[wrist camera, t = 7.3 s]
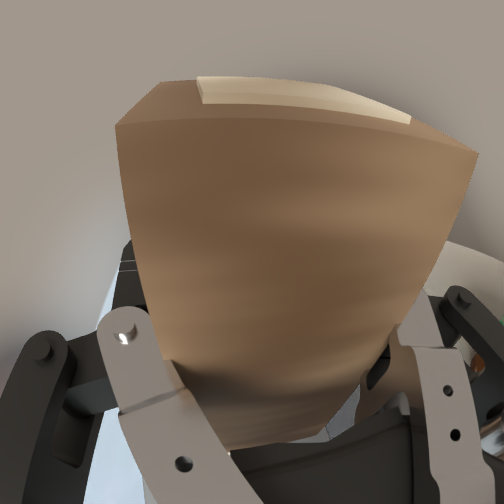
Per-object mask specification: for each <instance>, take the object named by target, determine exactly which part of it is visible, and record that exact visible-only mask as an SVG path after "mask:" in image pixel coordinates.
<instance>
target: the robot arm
mask: <svg viewBox="0 0 504 504" xmlns="http://www.w3.org/2000/svg"><path fill="white" fill-rule="evenodd" d="M461 336H463V338H464V339H465V340H466V341H467V342H468V343H469V344H470V345H471V346H472V348H473V349H474V350H475V351H476V352H477V353H478V354H479V356H480V357H481V358H482V359H483V360H484V363H485V367H484V368H483V369H482V370H481V371H479V372H475V371H473V370H472V369H471V368H470V367H469V366H468V365H467V363H466V362H465V361H464V360H463V357H462V354H461V352H460V351H459V350H458V349H457V348H455V347H453V346H454V345H455V344H456V343H457V341H458V340H459V339H460V338H461ZM388 340H389V344H388V345H387V347H386V348H385V350H384V351H383V352H382V354H381V355H380V357H379V358H378V360H377V361H376V362H375V364H374V365H373V367H372V368H370V369H367V370H365V371H364V373H363V374H362V375H361V377H360V400H359V403H358V406H357V409H356V413H355V425H354V426H353V427H351V428H349V429H348V430H346V431H345V432H343V433H341V434H340V435H338V436H337V437H335V438H333V439H332V440H330V441H327V442H318V443H280V442H277V443H272V444H267V445H261V446H255V447H249V448H243V449H235V450H230V456H229V454H228V453H227V451H226V450H225V448H224V446H223V445H222V443H221V442H220V440H219V439H218V437H217V435H216V434H215V432H214V431H213V429H212V427H211V426H210V424H209V422H208V421H207V419H206V417H205V416H204V414H203V412H202V410H201V409H200V407H199V405H198V404H197V402H196V400H195V398H194V397H193V395H192V394H191V392H190V391H189V389H188V388H186V387H185V386H184V384H183V383H182V381H181V379H180V377H179V375H178V373H177V371H176V369H175V367H174V365H173V363H172V361H171V359H170V360H163V358H162V355H161V352H160V349H159V346H158V342H157V339H156V336H155V332H154V329H153V326H152V322H151V319H150V315H149V311H148V308H147V304H146V300H145V297H144V293H143V289H142V285H141V281H140V276H139V272H138V268H137V264H136V259H135V255H134V250H133V245H132V240H130V241H129V242H128V244H127V245H126V246H125V247H124V249H123V253H122V258H121V263H120V267H119V272H118V277H117V282H116V287H115V292H114V298H113V304H112V309H111V311H110V312H109V313H107V314H106V315H105V316H104V317H103V318H102V319H101V321H100V322H99V325H98V328H97V330H96V331H94V332H92V333H90V334H88V335H85V336H82V337H79V338H76V339H73V340H70V341H66V340H65V339H64V337H63V336H62V335H61V334H59V333H58V332H55V331H50V330H48V331H42V332H39V333H37V334H35V335H34V336H32V337H31V338H30V339H29V340H28V341H27V342H26V344H25V345H24V347H23V349H22V351H21V353H20V355H19V357H18V359H17V361H16V363H15V365H14V368H13V370H12V372H11V374H10V377H9V379H8V381H7V383H6V386H5V388H4V390H3V393H2V395H1V398H0V504H83V501H84V496H85V491H86V486H87V481H88V476H89V471H90V467H91V462H92V458H93V454H94V450H95V446H96V442H97V438H98V434H99V430H100V426H101V423H102V419H103V415H104V412H105V411H107V410H110V409H113V408H116V407H119V411H120V412H119V413H118V418H119V422H120V426H121V428H122V431H123V434H124V436H125V438H126V441H127V443H128V446H129V448H130V450H131V452H132V455H133V457H134V459H135V461H136V463H137V466H138V468H139V470H140V472H141V474H142V476H143V478H144V480H145V482H146V484H147V486H148V488H149V490H150V491H151V493H152V495H153V497H154V499H155V501H156V502H157V504H504V326H503V325H502V324H501V323H500V322H499V320H498V319H497V318H496V317H495V316H494V315H493V314H492V313H491V312H490V311H489V310H488V309H487V308H486V307H485V306H484V305H483V304H482V303H481V302H480V301H479V300H478V299H477V298H476V297H475V296H474V295H473V294H472V293H471V292H470V291H468V290H467V289H465V288H463V287H461V286H451V287H449V288H448V290H447V292H446V293H445V295H444V297H436V296H428V295H427V293H426V292H425V290H424V289H423V288H422V289H421V291H420V293H419V295H418V296H417V298H416V300H415V302H414V303H413V305H412V307H411V309H410V310H409V312H408V314H407V315H406V317H405V319H404V320H403V322H402V323H398V324H395V326H394V328H393V329H392V331H391V332H390V334H389V336H388Z"/></svg>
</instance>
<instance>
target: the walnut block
mask: <svg viewBox="0 0 504 504" xmlns="http://www.w3.org/2000/svg"><path fill="white" fill-rule="evenodd" d="M115 130H116V140H117V151H118V159H119V167H120V175H121V182H122V189H123V196H124V201H125V208H126V213H127V219H128V224H129V229H130V235H131V240H132V245H133V250H134V255H135V259H136V264H137V268H138V272H139V276H140V281H141V285H142V289H143V293H144V297H145V300H146V304H147V308H148V311H149V315H150V319H151V322H152V326H153V329H154V332H155V336H156V339H157V342H158V346H159V349H160V352H161V355H162V358H163V360H170V359H171V361H172V363H173V365H174V367H175V369H176V371H177V373H178V375H179V377H180V379H181V381H182V383H183V384H184V386H185V387H186V388H188V389H189V391H190V392H191V394H192V395H193V397H194V398H195V400H196V402H197V404H198V405H199V407H200V409H201V410H202V412H203V414H204V416H205V417H206V419H207V421H208V422H209V424H210V426H211V427H212V429H213V431H214V432H215V434H216V435H217V437H218V439H219V440H220V442H221V443H222V445H223V446H224V448H225V450H226V451H227V452H230V450H235V449H243V448H249V447H255V446H261V445H267V444H272V443H277V442H280V443H287V442H291V441H296V440H300V439H304V438H308V437H312V436H316V435H317V434H318V433H319V432H320V431H321V430H322V429H323V428H324V427H325V425H326V424H327V423H328V422H329V421H330V420H331V419H332V417H333V416H334V415H335V414H336V413H337V412H338V410H339V409H340V408H341V407H342V406H343V404H344V403H345V402H346V401H347V399H348V398H349V397H350V396H351V394H352V393H353V392H354V391H355V389H356V388H357V387H358V385H359V384H360V377H361V375H362V374H363V373H364V371H365V370H367V369H370V368H372V367H373V365H374V364H375V362H376V361H377V360H378V358H379V357H380V355H381V354H382V352H383V351H384V350H385V348H386V347H387V345H388V344H389V340H388V336H389V334H390V332H391V331H392V329H393V328H394V326H395V324H398V323H402V322H403V320H404V319H405V317H406V315H407V314H408V312H409V310H410V309H411V307H412V305H413V303H414V302H415V300H416V298H417V296H418V295H419V293H420V291H421V289H422V287H423V286H424V284H425V282H426V280H427V278H428V276H429V274H430V272H431V270H432V268H433V267H434V265H435V263H436V261H437V258H438V256H439V254H440V252H441V250H442V248H443V246H444V244H445V242H446V239H447V237H448V235H449V233H450V230H451V228H452V226H453V223H454V221H455V219H456V216H457V214H458V211H459V209H460V206H461V204H462V201H463V198H464V196H465V193H466V191H467V188H468V185H469V182H470V179H471V176H472V174H473V170H474V167H475V164H476V161H477V158H478V154H479V153H477V152H476V151H474V150H472V149H471V148H469V147H467V146H466V145H463V144H462V143H460V142H459V141H457V140H455V139H453V138H451V137H449V136H448V135H446V134H444V133H442V132H440V131H438V130H436V129H434V128H432V127H430V126H428V125H426V124H424V123H422V122H420V121H418V120H416V119H413V118H411V116H410V115H408V114H406V113H403V112H401V111H399V110H396V109H394V108H391V107H389V106H387V105H384V104H381V103H379V102H376V101H374V100H371V99H368V98H366V97H363V96H360V95H357V94H354V93H352V92H348V91H345V90H342V89H339V88H336V87H333V86H329V85H324V84H317V83H310V82H302V81H293V80H282V79H270V78H253V77H219V76H217V77H216V76H215V77H197V80H186V81H169V82H160V83H159V84H158V85H157V86H156V87H154V88H153V89H152V90H151V91H150V92H149V93H148V94H147V95H146V96H145V97H143V98H142V99H141V100H140V101H139V102H138V103H137V104H136V105H135V106H134V107H133V108H132V109H131V110H130V111H129V112H128V113H127V114H126V115H125V116H124V117H123V118H122V119H121V120H120V121H119V122H118V123H117V124H116V125H115Z"/></svg>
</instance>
